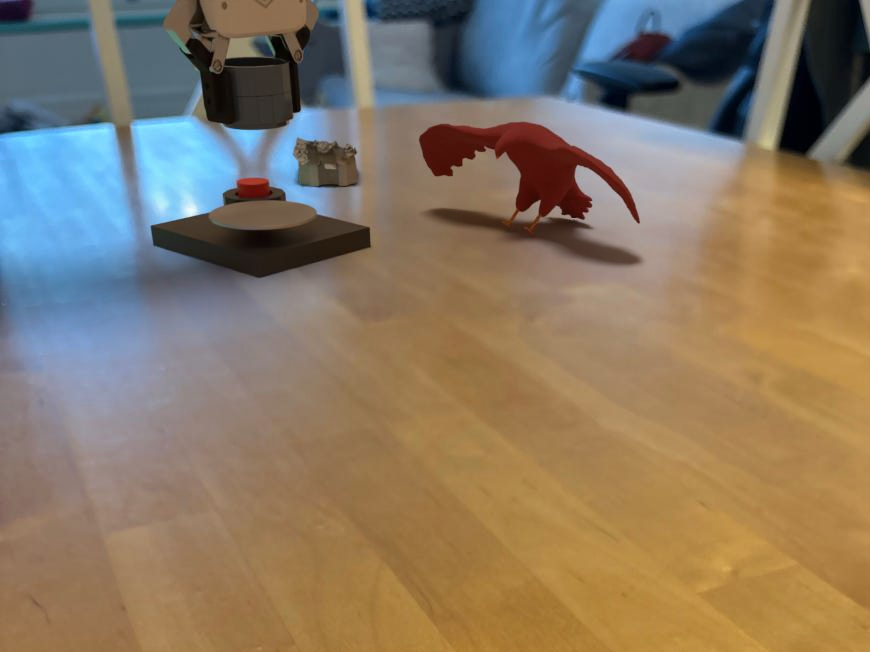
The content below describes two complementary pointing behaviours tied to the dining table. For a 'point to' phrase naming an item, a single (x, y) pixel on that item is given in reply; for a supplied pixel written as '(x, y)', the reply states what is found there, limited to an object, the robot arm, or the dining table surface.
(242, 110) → the cylindrical container
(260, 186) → the tare button
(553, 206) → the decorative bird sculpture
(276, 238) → the scale
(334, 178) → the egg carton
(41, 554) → the dining table surface
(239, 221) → the grey round platter
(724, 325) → the dining table surface
